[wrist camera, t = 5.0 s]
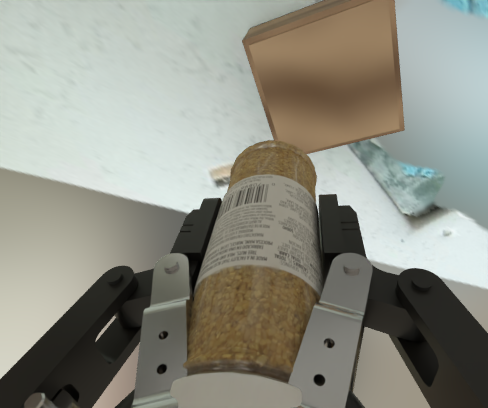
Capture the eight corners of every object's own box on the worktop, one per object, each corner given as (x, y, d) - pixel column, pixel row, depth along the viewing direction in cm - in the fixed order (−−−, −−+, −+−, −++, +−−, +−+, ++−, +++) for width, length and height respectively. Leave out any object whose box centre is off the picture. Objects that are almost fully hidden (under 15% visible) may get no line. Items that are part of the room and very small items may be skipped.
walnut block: (250, 28, 27) (241, 41, 23) (377, -20, 24) (394, -15, 20) (282, 135, 32) (280, 162, 28) (390, 106, 29) (405, 131, 25)
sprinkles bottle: (245, 215, 19) (179, 533, 9) (219, 146, 17) (82, 473, 6) (324, 202, 18) (362, 558, 7) (309, 126, 16) (332, 495, 5)
